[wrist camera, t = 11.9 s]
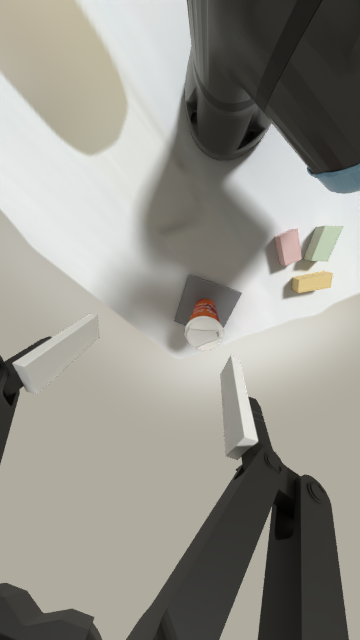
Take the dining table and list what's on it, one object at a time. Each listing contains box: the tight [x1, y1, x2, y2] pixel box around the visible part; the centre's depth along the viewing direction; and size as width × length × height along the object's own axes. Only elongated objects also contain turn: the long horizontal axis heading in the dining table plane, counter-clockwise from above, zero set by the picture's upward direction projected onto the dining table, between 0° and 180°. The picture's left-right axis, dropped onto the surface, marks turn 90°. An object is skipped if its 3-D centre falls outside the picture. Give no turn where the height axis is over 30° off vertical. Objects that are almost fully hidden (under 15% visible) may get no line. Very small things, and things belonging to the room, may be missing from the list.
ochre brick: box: [292, 271, 333, 293], centre depth 34 cm, size 6×3×3 cm, turn 105°
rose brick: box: [275, 229, 302, 266], centre depth 32 cm, size 6×3×3 cm, turn 26°
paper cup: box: [184, 299, 224, 351], centre depth 35 cm, size 8×8×14 cm
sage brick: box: [304, 226, 344, 261], centre depth 31 cm, size 6×3×3 cm, turn 178°
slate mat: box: [174, 275, 242, 328], centre depth 42 cm, size 14×14×1 cm
